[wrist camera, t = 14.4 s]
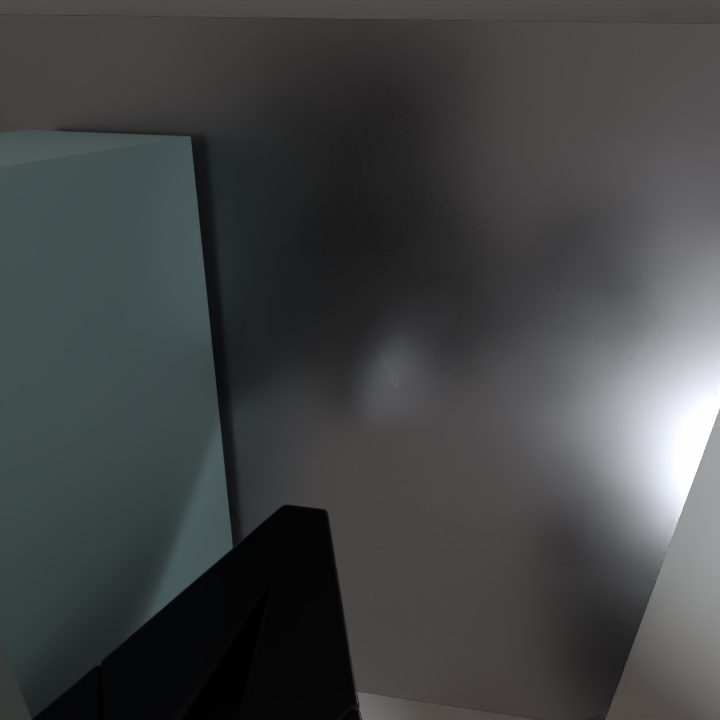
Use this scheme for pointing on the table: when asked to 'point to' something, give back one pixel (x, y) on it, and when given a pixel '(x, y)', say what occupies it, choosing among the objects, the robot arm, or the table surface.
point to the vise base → (441, 310)
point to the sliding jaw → (100, 401)
